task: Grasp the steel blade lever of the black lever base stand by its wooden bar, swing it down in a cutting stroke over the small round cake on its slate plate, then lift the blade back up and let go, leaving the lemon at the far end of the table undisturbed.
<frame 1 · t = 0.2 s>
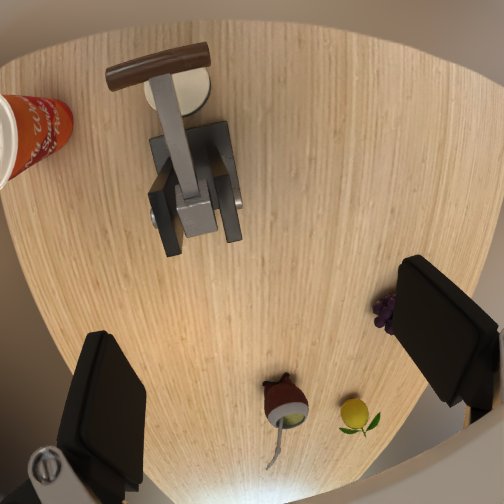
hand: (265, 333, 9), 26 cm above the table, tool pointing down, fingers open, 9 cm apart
cake: (179, 88, 27), on the table
coffee cup: (51, 125, 26), on the table
blade lever: (179, 151, 16), point 15 cm above the table, hinge at 25.0°
fruit: (403, 296, 46), on the table
mate gourd: (276, 384, 50), on the table
lemon: (348, 398, 56), on the table
lever base stand: (196, 169, 32), on the table
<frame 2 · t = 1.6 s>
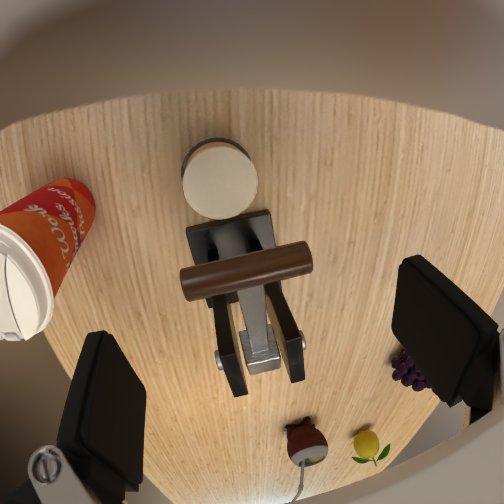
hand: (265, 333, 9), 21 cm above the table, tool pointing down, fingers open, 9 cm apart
cake: (217, 172, 27), on the table
coffee cup: (69, 206, 26), on the table
blade lever: (255, 324, 16), point 15 cm above the table, hinge at 25.0°
fruit: (418, 347, 46), on the table
mate gourd: (297, 425, 50), on the table
lemon: (360, 429, 57), on the table
lever base stand: (235, 258, 31), on the table
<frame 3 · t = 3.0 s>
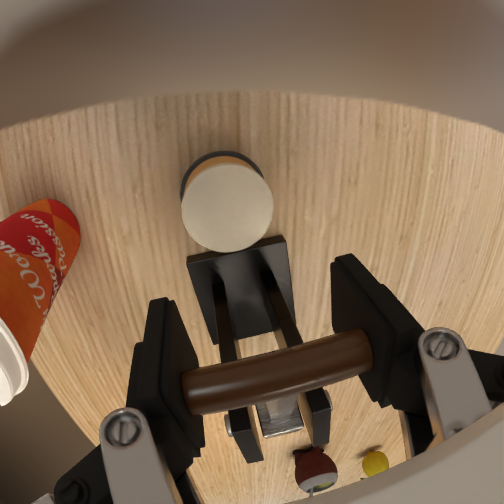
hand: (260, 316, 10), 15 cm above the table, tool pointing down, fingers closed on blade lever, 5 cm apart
cake: (223, 192, 23), on the table
coffee cup: (51, 230, 22), on the table
blade lever: (278, 403, 12), point 15 cm above the table, hinge at 25.0°, touching gripper
mate gourd: (305, 450, 45), on the table
lemon: (369, 450, 52), on the table
lever base stand: (244, 290, 27), on the table
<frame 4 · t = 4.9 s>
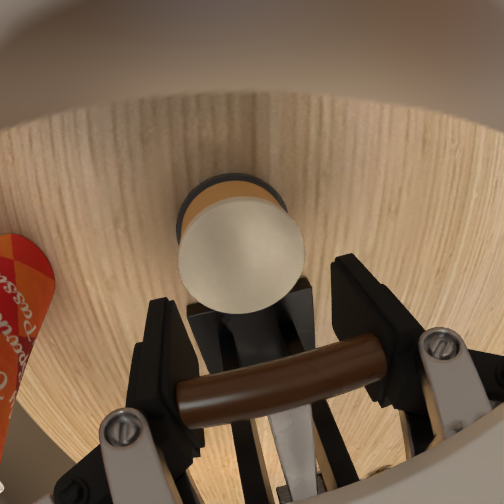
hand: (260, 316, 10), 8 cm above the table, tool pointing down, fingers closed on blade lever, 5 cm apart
cake: (232, 227, 18), on the table
coffee cup: (20, 271, 16), on the table
blade lever: (299, 475, 9), point 12 cm above the table, hinge at -7.3°, touching gripper
lever base stand: (257, 340, 22), on the table
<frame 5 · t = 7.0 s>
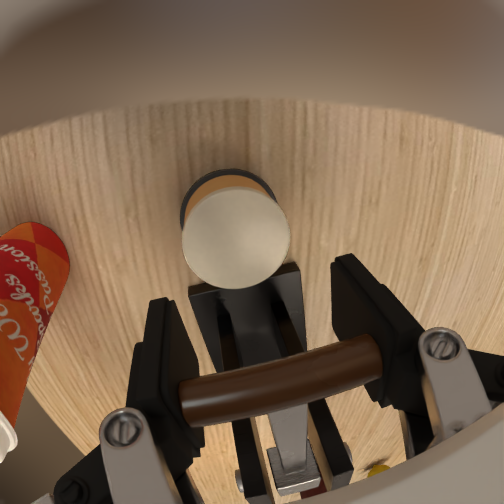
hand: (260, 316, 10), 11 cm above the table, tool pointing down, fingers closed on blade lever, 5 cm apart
cake: (229, 216, 20), on the table
coffee cup: (37, 256, 19), on the table
blade lever: (290, 445, 10), point 14 cm above the table, hinge at 7.4°, touching gripper
mate gourd: (311, 468, 43), on the table
lemon: (375, 463, 49), on the table
lever base stand: (252, 320, 24), on the table
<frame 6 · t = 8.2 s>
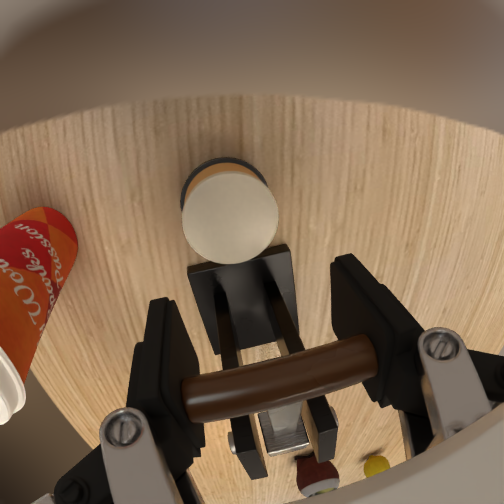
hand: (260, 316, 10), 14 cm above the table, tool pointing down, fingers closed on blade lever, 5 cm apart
cake: (225, 200, 22), on the table
coffee cup: (47, 239, 21), on the table
blade lever: (282, 418, 11), point 15 cm above the table, hinge at 20.1°, touching gripper
mate gourd: (307, 456, 45), on the table
lemon: (371, 454, 51), on the table
lever base stand: (246, 300, 26), on the table
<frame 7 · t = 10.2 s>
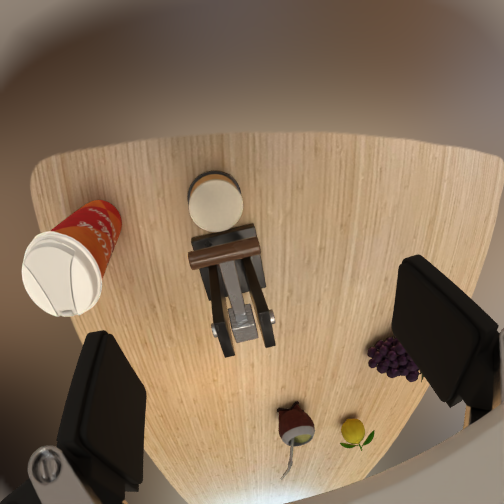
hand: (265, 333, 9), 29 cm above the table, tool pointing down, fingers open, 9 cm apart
cake: (214, 196, 37), on the table
coffee cup: (100, 221, 36), on the table
blade lever: (235, 296, 26), point 15 cm above the table, hinge at 19.7°
fruit: (394, 340, 54), on the table
mate gourd: (288, 410, 58), on the table
lemon: (347, 417, 65), on the table
lever base stand: (229, 261, 41), on the table
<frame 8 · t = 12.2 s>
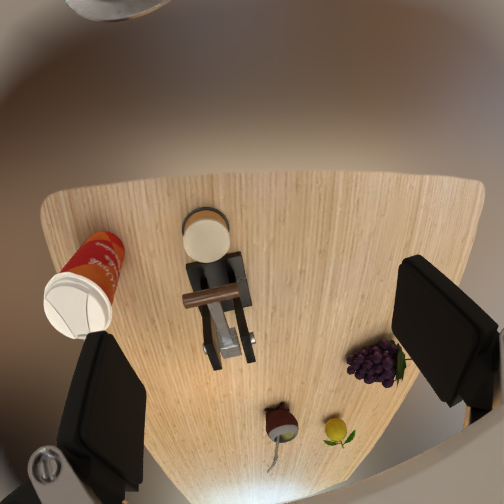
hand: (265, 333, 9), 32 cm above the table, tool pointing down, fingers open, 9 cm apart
cake: (205, 229, 42), on the table
coffee cup: (105, 249, 41), on the table
blade lever: (221, 324, 31), point 15 cm above the table, hinge at 19.7°
fruit: (372, 348, 60), on the table
mate gourd: (275, 410, 64), on the table
lemon: (331, 417, 71), on the table
lever base stand: (219, 283, 46), on the table
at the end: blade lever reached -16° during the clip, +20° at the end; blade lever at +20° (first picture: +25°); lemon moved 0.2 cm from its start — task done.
